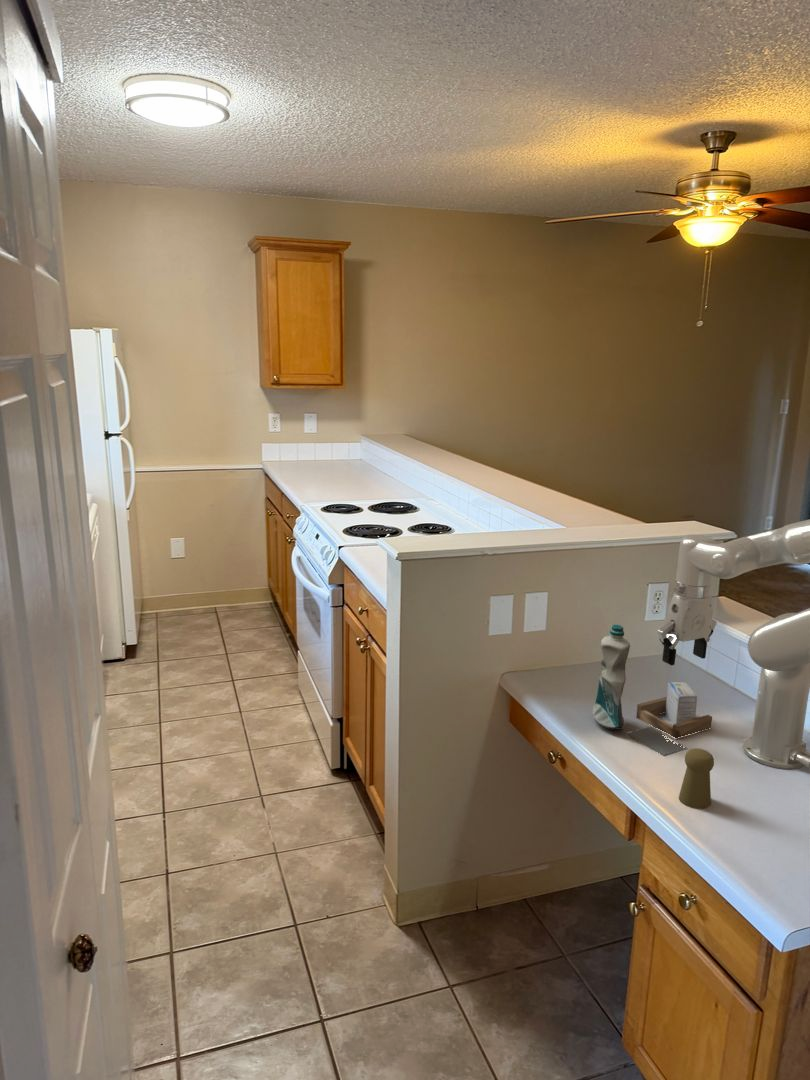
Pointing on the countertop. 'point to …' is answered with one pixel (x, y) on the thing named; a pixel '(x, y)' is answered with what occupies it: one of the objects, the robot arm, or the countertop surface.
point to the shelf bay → (658, 706)
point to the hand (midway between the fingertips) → (683, 659)
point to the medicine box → (680, 702)
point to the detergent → (611, 680)
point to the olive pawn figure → (697, 779)
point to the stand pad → (655, 741)
